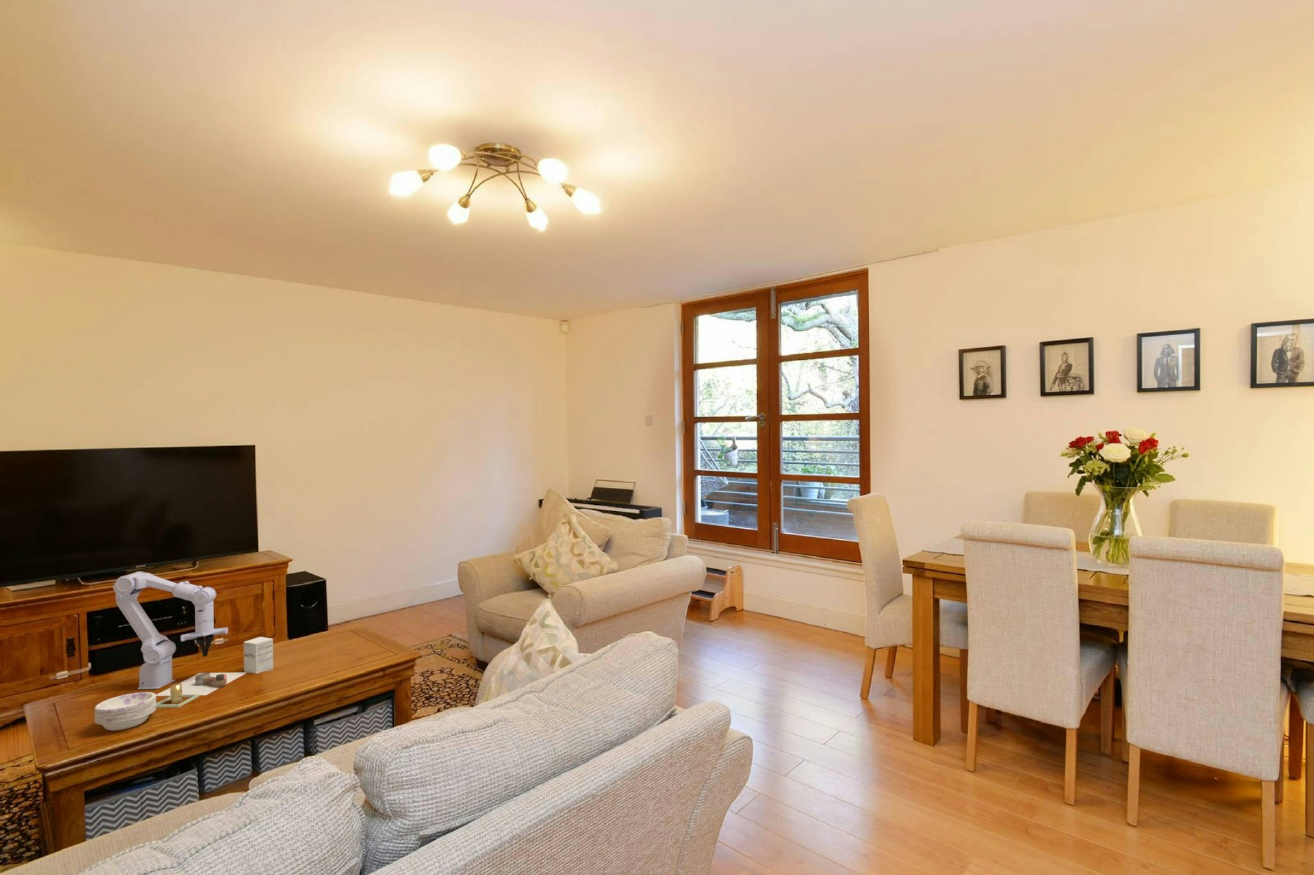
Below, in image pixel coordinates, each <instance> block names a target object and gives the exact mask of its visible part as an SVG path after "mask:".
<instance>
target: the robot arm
mask: <svg viewBox="0 0 1314 875" xmlns="http://www.w3.org/2000/svg"><path fill="white" fill-rule="evenodd" d="M145 588H152V589H157V590H161V591H165V592H170V593H172V596H173V597H175V598H179V599H182V600H184V601H190V602H191V603H192V604H193V605H194V619H195V620H194V621H195V622H194V623H195V630H194V632H190V633H189V632H188V633H185V634H181V635H180V642H185V641H188V640H189V641H190V640H194V639H195V640H196V643H197V644H198V646H199V648H200V650H201V652H202V653H201V654H202V657H203V658H204V657H208V656H209V650H210V648H211V647H210V646H211V645H212V642H213V640H214V636H218V635H223V634H225V635H226V634H229V627H219V628H215V627H214V626H215V623H214V622H215V620H214V619H215V618H214V617H215V616H214V613H215V612H214V610H215V609H214V600H215V599H216V597H217V591H216V590H215V589H214V588H213V587H211V586H205V587H203V586H202V585H195V584H192V583H190V581H187V580H186V581H181V582H178V583H176V582H173V581H170V580H167V579H165V578H162V577H159V576H157V575H154V574H153V573H151V572H144V571H139V570H138V571H135V572H133V573H130V574H127V575H122V576H120V577H118V578H117V579H116V581H115V582H114V585H113V586H112V589H113V591H114V592H115V603H116V605H117V607H118V608H119V610H120V611H121V612H122V614H123V616H124V617H125V619H126V621H128V623H129V625H130V626H131V628H132V630H133V631H134V632H135V633H136V635H137V637H138V638H139V639H140V641H141V643H142V645H141V648H140V651H141V652H142V657H143V658H142V659H143V661H144V663H143V664H141V666H140V668H139V671H138V676H139V680H138V681H139V684H138V685H139V686H138V687H137V690H158V689H160V688H162V687H164V686H167V685H169V684H171V683H173V682H175V681H176V679H173V655H174V653H175V652H176V651H177V647H176V644H175V642H173V641H171V640H170V639H169V638H168V637H167V636H166V635H163V634H161V633H159V631H158V629H157V628H156V626H155V625H154V623H153V622H152V620H151V619H150V617H149V616H148V614H147V613H146V612H145V610H144V609H143V607H142V606H141V604H140V603H139V601H138V597H139V595H140V593H141V592H142V591H143V589H145Z"/></svg>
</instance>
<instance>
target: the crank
mask: <svg viewBox="0 0 1314 875" xmlns="http://www.w3.org/2000/svg"><path fill="white" fill-rule="evenodd" d="M201 673H202V674H199V673H197V674H198V675H197V674H195V675H196V676H195V675H194V676H195V684H196V685H203V684H204V685H210V686H216V687H220V688H222V687H224V686H226V685H227V684H226V682H225V679H224V674H219V675H216V677H210V673H211V672H201Z"/></svg>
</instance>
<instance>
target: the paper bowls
mask: <svg viewBox="0 0 1314 875" xmlns="http://www.w3.org/2000/svg"><path fill="white" fill-rule="evenodd" d="M156 695H157V694H156V693H154V692H151V691H150V692H149V691H145V692H144V691H143V692H133V693H127V694H126V693H125V694H122V695H118V696H115V697H112V698H108V699H106V700H103V701H101V702H100V703H98V704H97V705H95V707H94V723H95V724H96V725H99V726H100V725H101V726H102V727H103V728H104V729H105V730H107V731H111V732H112V731H122V730H127V729H131V728H133V727H137V726H139V725H142V724H143V723H144V722H146V720H148V717H149V716H150V715H151V714H153V713H154V712H156V710H157V708H156V703H157V696H156Z"/></svg>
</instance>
